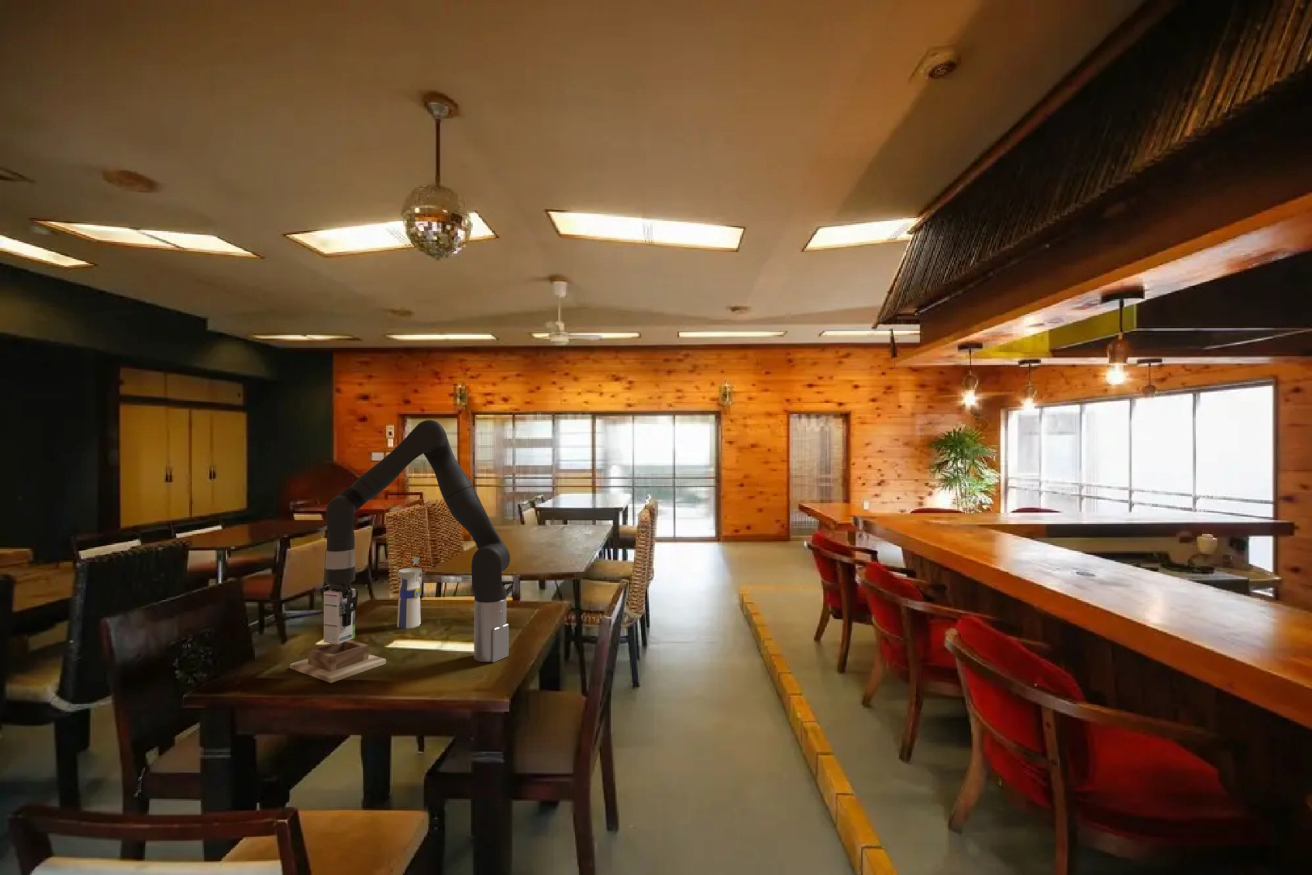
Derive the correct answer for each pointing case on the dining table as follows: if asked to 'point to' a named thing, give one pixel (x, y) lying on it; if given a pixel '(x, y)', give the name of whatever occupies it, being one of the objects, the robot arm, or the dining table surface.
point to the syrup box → (336, 619)
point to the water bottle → (409, 597)
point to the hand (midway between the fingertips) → (339, 623)
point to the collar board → (338, 661)
